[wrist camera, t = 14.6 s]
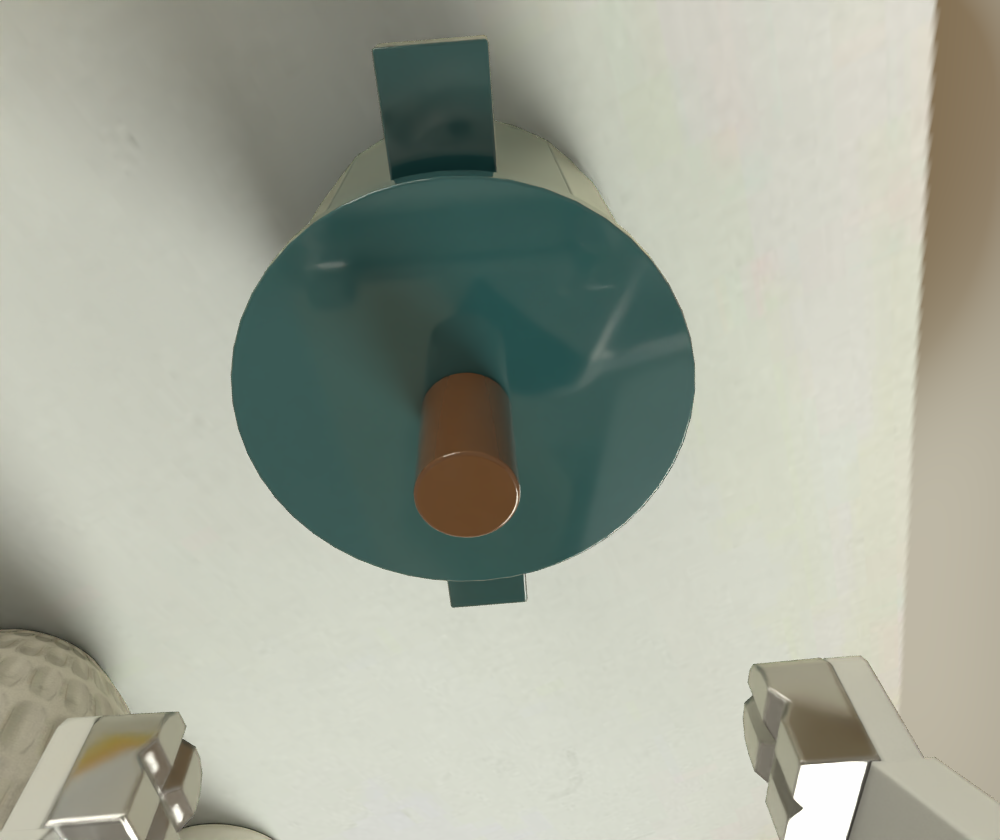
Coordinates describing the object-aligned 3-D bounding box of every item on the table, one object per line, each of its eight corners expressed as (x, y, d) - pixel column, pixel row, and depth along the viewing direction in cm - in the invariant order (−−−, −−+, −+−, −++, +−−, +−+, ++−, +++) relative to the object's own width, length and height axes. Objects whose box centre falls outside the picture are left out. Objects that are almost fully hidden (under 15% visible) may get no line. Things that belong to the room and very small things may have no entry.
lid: (697, 142, 17) (772, 199, 13) (673, 537, 22) (719, 663, 18) (187, 184, 17) (98, 255, 13) (295, 568, 22) (258, 701, 18)
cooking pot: (617, 4, 22) (693, 24, 15) (613, 454, 30) (660, 608, 23) (261, 33, 22) (163, 68, 15) (353, 475, 30) (319, 636, 23)
